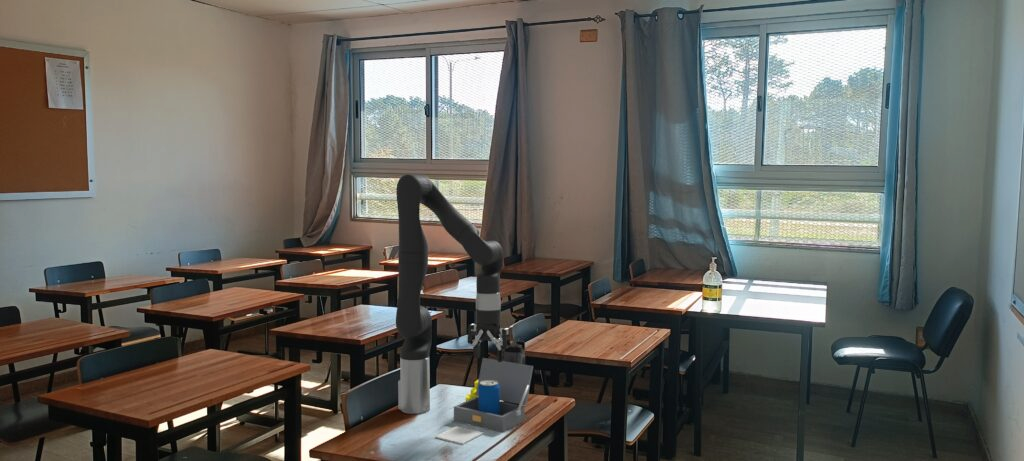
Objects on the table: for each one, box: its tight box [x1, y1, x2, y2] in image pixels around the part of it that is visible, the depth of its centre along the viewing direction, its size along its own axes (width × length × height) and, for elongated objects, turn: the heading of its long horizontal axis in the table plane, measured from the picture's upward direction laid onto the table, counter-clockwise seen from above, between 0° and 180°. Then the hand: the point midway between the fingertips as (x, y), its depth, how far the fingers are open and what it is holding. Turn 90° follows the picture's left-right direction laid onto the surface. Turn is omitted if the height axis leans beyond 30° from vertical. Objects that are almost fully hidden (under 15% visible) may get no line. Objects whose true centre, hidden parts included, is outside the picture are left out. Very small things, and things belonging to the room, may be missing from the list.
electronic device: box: [503, 339, 526, 405], centre depth 236 cm, size 9×6×20 cm, turn 168°
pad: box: [434, 425, 485, 446], centre depth 207 cm, size 10×10×1 cm
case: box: [453, 357, 534, 433], centre depth 220 cm, size 19×17×16 cm
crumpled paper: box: [465, 378, 479, 402], centre depth 238 cm, size 6×8×8 cm
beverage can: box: [478, 380, 501, 415], centre depth 219 cm, size 6×6×12 cm
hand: (488, 359), depth 218 cm, fingers open, 8 cm apart
